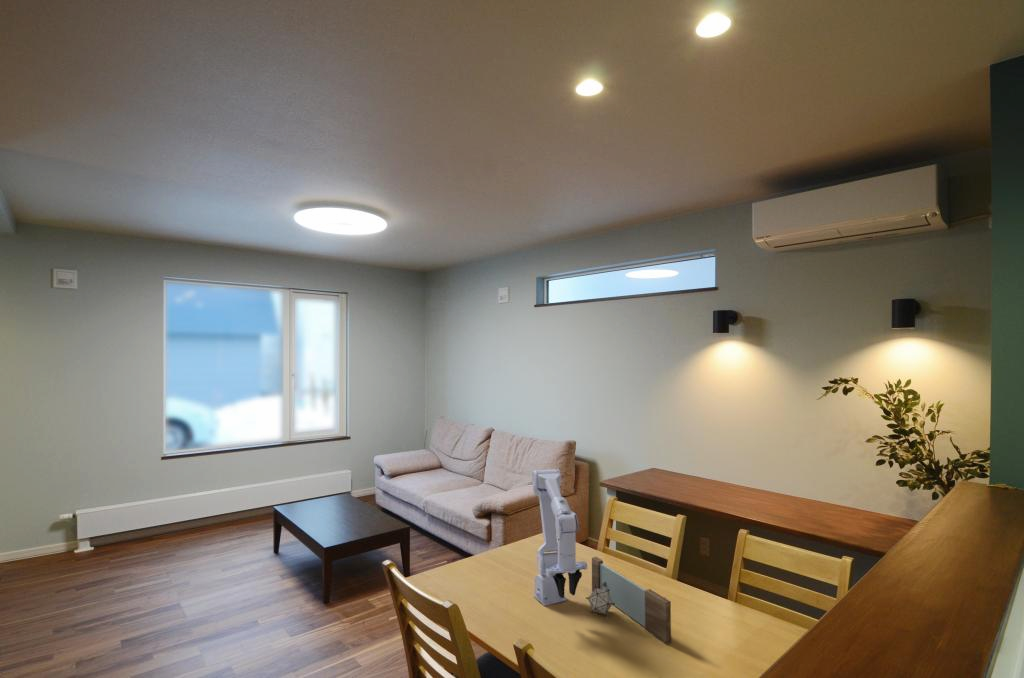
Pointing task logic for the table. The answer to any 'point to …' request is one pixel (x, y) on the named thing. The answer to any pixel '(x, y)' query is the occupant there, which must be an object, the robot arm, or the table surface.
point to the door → (624, 593)
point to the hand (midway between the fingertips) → (566, 595)
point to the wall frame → (646, 608)
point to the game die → (600, 601)
